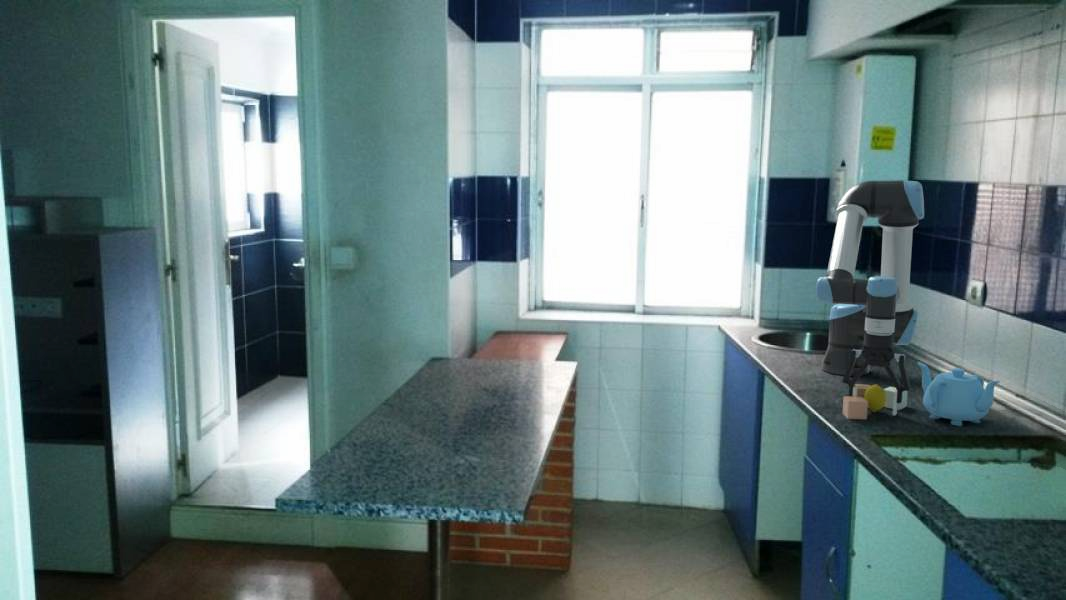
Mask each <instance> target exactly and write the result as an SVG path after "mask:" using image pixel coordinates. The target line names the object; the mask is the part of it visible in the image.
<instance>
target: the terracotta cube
mask: <svg viewBox="0 0 1066 600" xmlns="http://www.w3.org/2000/svg"><path fill="white" fill-rule="evenodd" d="M842 399H843V401H842V415H844V416H845V419H848V420H867V419H868V407H867V406H868V402H867V401H866V400H865V399H864V398H863V397H850V396H849V395H848V396H846V395H845V396H843V398H842Z"/></svg>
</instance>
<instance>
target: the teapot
mask: <svg viewBox="0 0 1066 600" xmlns="http://www.w3.org/2000/svg"><path fill="white" fill-rule="evenodd" d="M916 363H917V365H918V366H919V367H920V369H921V372H922V374H921V375H922V379H921V387H922V390H923V393H924V394H923V398H922V404H923V407H924V409H926V410H927V411H928V412H929V414H930V415H929V416H928V418H929V417H930V418H929V419H931V418H934V419H933V420H940V419H941V418H942V419H948V420H950V425H951V424H952V425H951V426H953V425H957V426H956V427H963V426H962V425H963V421H965V422H966V421H968V422H970V423H972V422H973V424H981V419H982V418H984V417H985V416H986V415H987V414H988V413H989V412H990V409H991V407H992V406H993V403H994V398H995V397H994V396H995V395H994V393H995V388H996V386H997V384H999V383H1000V382H1001V380H993V381H992V380H991V381H989V382H987V384H986V386H985V387H984V385H985V381H984V378H983V377H982V376H980V375H978V374H967V373H965V372H966V370H965V369H963V368H958V367H957V368H955V367H954V368H951V372H940V373H939V374H937V375H936V376H935V377H934V379H933V380H932V377H931V371H930V369H929V367H928V366H927V365H926V364H925V363H923V362H919V361H917V362H916Z"/></svg>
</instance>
